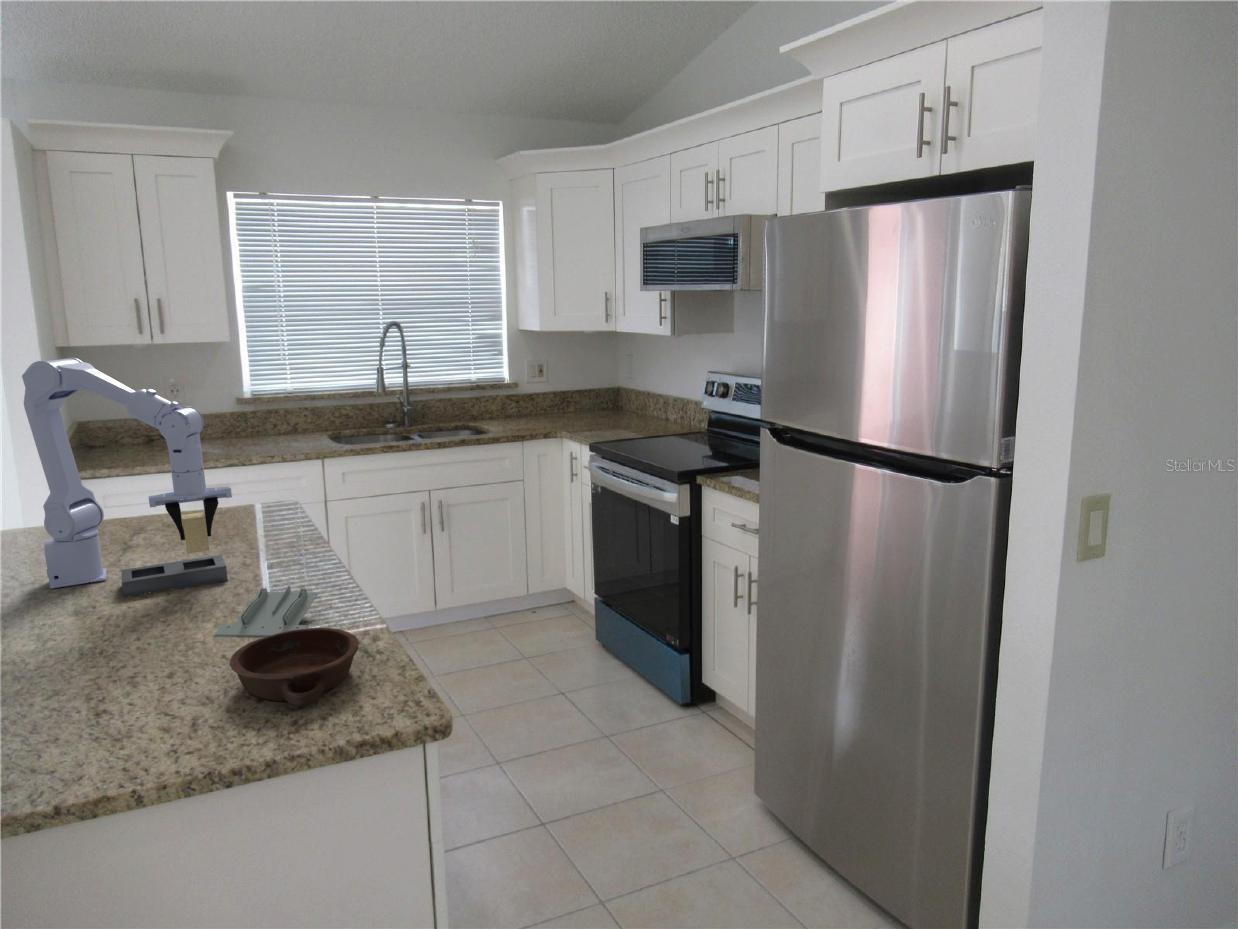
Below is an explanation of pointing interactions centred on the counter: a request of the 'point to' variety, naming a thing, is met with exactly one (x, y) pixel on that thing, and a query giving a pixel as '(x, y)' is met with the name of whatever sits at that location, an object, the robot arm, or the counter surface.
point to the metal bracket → (270, 614)
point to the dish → (295, 664)
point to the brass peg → (195, 532)
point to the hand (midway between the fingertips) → (195, 537)
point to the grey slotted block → (173, 575)
